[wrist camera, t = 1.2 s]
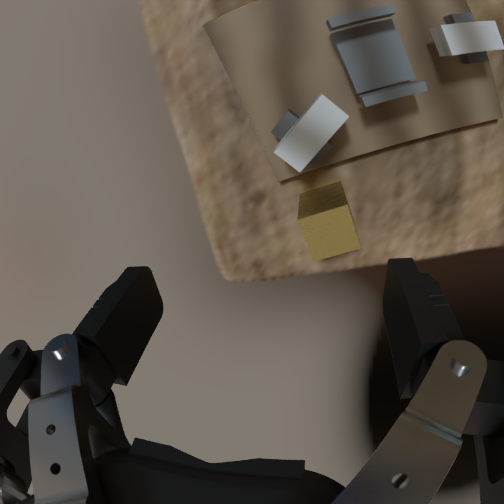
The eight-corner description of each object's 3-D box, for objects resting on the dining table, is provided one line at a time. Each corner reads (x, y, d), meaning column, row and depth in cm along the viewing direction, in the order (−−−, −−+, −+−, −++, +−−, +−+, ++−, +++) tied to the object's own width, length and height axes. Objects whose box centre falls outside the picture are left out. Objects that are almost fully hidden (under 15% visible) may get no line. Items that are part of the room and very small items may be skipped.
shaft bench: (441, -36, 14) (464, -52, 9) (496, 115, 21) (527, 127, 17) (206, 26, 23) (184, 17, 18) (279, 178, 30) (273, 200, 25)
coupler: (340, 180, 29) (347, 204, 24) (353, 218, 31) (360, 248, 26) (299, 193, 31) (297, 219, 26) (314, 230, 33) (314, 261, 28)
